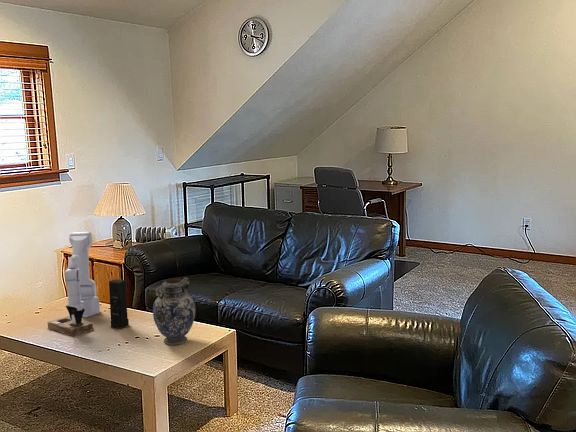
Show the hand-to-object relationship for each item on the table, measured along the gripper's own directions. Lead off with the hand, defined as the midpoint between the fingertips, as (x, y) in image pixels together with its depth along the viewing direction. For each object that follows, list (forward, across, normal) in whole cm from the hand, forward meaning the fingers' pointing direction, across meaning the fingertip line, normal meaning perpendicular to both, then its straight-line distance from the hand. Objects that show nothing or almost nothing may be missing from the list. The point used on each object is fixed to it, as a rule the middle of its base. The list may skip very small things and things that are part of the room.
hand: (76, 321), depth 269 cm
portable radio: (+5, -7, -18) cm, 20 cm away
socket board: (+4, +5, +1) cm, 7 cm away
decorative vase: (+5, -43, -30) cm, 53 cm away
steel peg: (+4, 0, 0) cm, 4 cm away
